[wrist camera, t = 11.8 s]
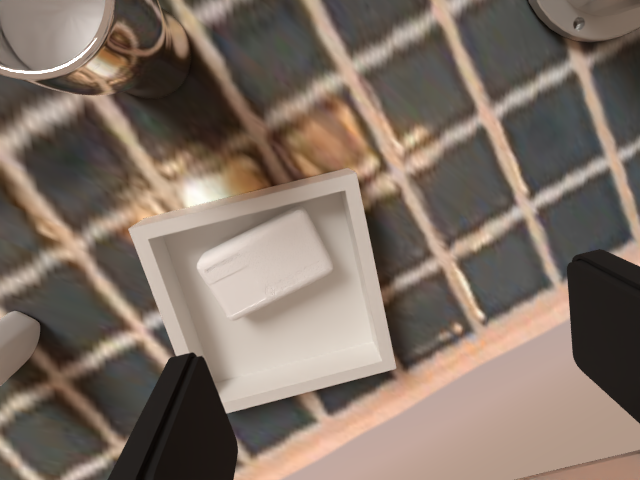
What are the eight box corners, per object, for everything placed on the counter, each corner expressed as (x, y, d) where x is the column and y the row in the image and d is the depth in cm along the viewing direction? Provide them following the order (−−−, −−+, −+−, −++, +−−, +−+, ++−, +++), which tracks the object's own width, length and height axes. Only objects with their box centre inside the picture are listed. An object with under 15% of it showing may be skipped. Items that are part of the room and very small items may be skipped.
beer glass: (211, 22, 28) (143, -85, 14) (182, 120, 30) (93, 115, 16) (107, -23, 27) (-84, -191, 13) (82, 82, 29) (-115, 38, 14)
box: (347, 167, 32) (356, 172, 29) (385, 346, 36) (396, 368, 33) (144, 218, 31) (128, 229, 28) (207, 392, 36) (200, 420, 33)
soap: (302, 201, 32) (304, 208, 29) (332, 260, 33) (337, 273, 31) (198, 253, 32) (190, 265, 29) (233, 310, 34) (229, 327, 31)
